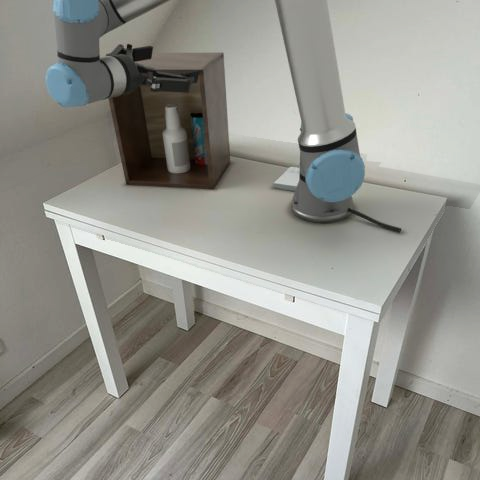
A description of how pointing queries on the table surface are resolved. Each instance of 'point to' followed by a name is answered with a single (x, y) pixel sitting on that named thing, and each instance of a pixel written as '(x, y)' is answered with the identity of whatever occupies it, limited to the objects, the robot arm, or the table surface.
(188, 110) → the cupboard
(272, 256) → the table surface
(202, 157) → the beverage can
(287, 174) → the hard drive
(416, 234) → the table surface
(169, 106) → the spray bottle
